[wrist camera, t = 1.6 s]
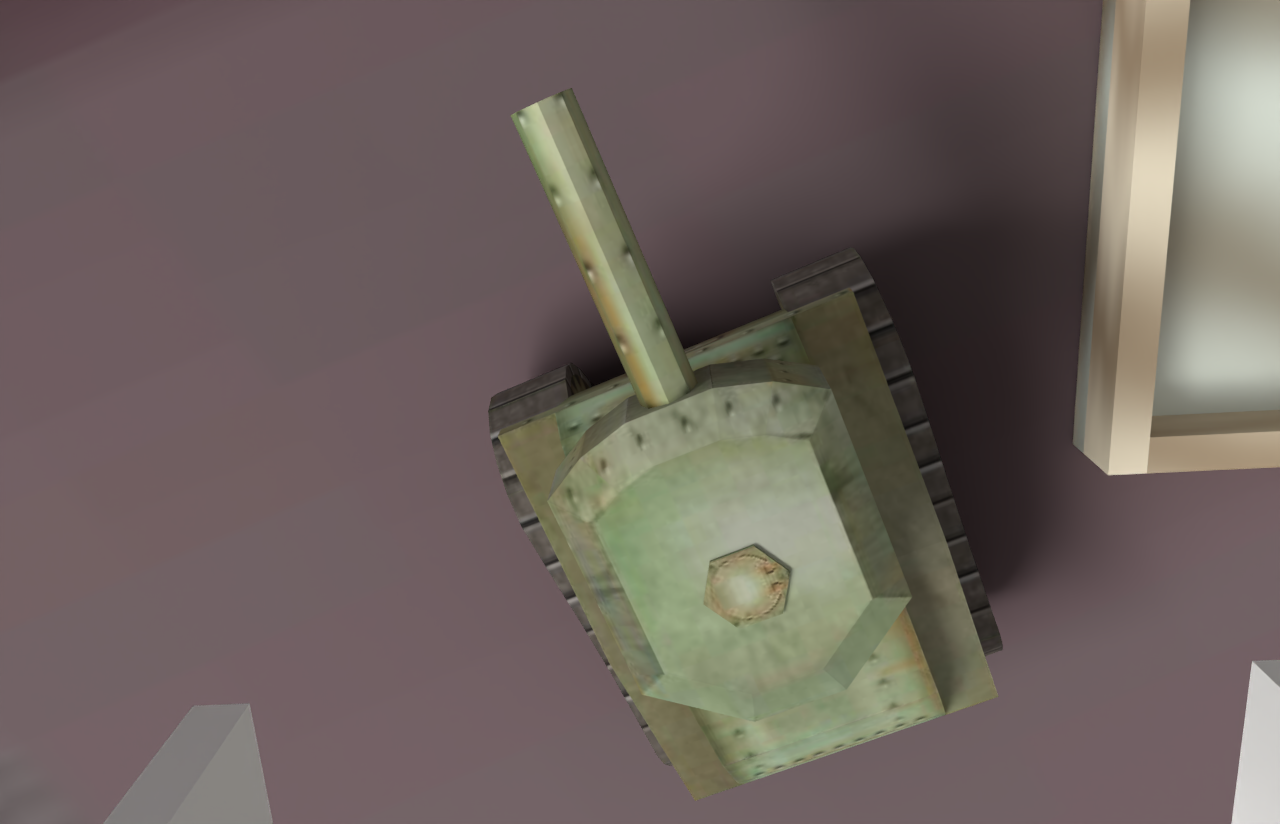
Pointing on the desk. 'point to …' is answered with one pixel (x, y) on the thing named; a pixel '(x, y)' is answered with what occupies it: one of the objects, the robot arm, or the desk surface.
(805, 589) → the toy
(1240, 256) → the beige tray
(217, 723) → the robot arm
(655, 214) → the desk surface
